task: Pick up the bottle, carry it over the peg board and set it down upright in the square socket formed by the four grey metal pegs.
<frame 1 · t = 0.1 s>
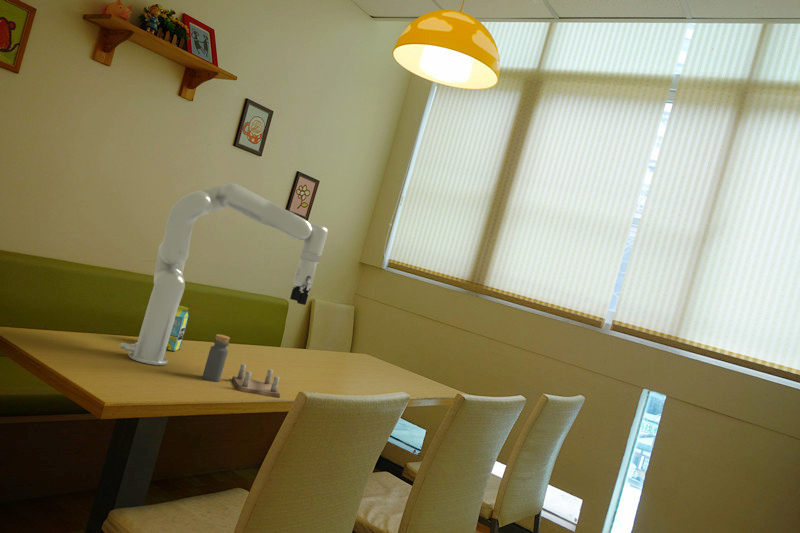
hand: (297, 301, 229), 31 cm above the table, fingers open, 9 cm apart
pegboard: (255, 388, 212), on the table
carton: (166, 349, 235), on the table
bottle: (210, 379, 208), on the table
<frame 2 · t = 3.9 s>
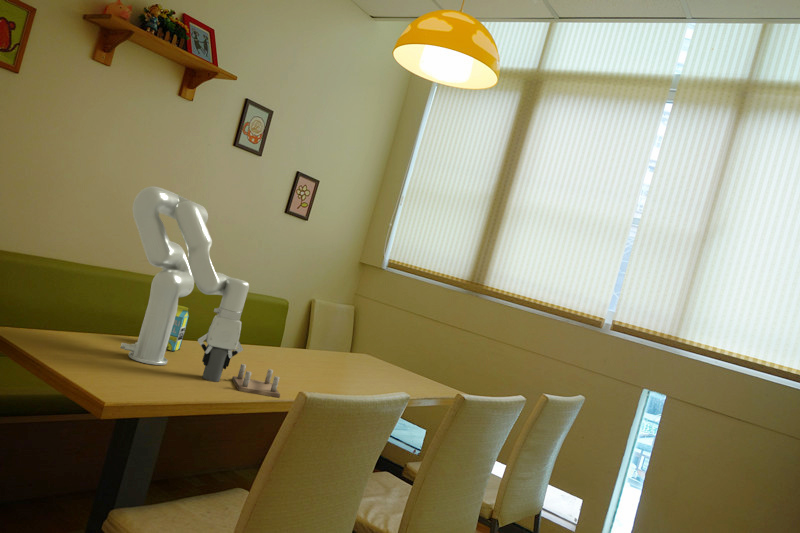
hand: (214, 365, 208), 5 cm above the table, fingers closed on bottle, 5 cm apart
bottle: (210, 379, 208), on the table, touching gripper
everything else where it was.
when the fingers open (7 cm above the table, at t = 8.2 s): bottle stays where it is, resting on pegboard.
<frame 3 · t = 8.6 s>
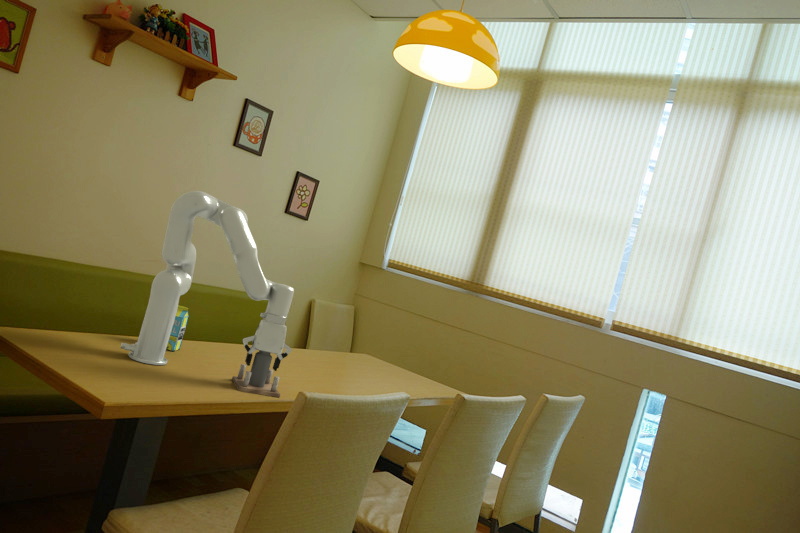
hand: (261, 367, 212), 7 cm above the table, fingers open, 9 cm apart
bottle: (255, 385, 212), point 1 cm above the table, touching pegboard
everything else where it was.
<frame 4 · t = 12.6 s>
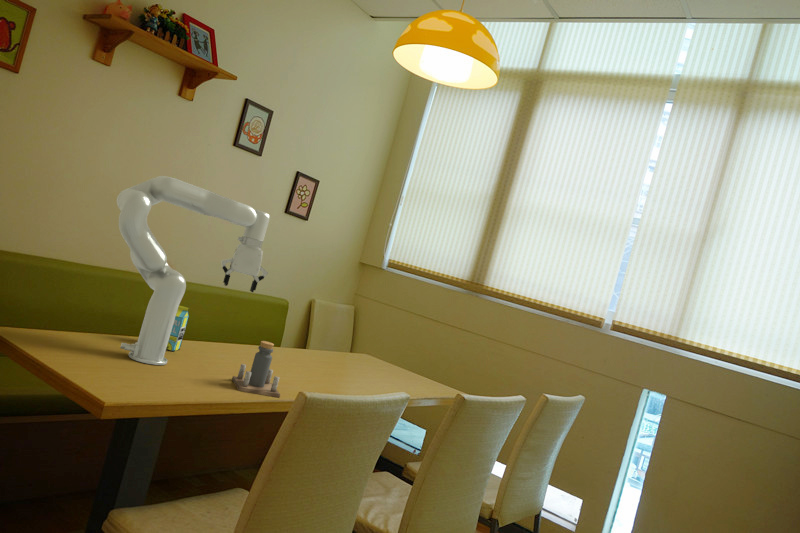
hand: (238, 288, 225), 30 cm above the table, fingers open, 9 cm apart
nothing on the table moved.
at the end: bottle 0.2 cm from the pegboard (horizontally); bottle tilted 0°; bottle point 1.0 cm above the table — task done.
